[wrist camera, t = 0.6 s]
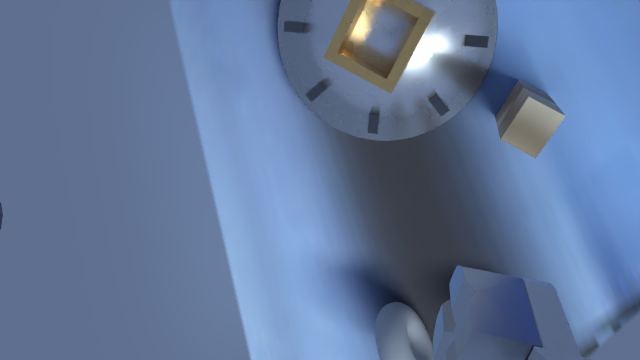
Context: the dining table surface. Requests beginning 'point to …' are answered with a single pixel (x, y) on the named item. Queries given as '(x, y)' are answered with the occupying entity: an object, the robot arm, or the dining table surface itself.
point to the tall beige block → (528, 119)
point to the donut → (401, 334)
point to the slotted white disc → (386, 60)
